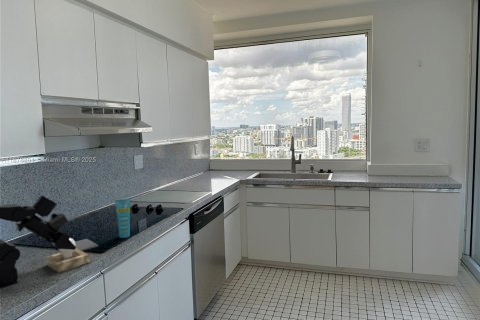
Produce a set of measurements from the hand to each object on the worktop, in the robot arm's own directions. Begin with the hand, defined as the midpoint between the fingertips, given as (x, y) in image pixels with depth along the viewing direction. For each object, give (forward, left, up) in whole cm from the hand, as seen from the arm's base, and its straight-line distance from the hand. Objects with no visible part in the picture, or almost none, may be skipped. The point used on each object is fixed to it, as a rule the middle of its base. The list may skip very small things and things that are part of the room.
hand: (70, 246), depth 142 cm
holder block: (-1, 0, -7) cm, 7 cm away
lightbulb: (-1, 0, -7) cm, 7 cm away
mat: (+9, +18, -7) cm, 21 cm away
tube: (+31, +15, -7) cm, 35 cm away
